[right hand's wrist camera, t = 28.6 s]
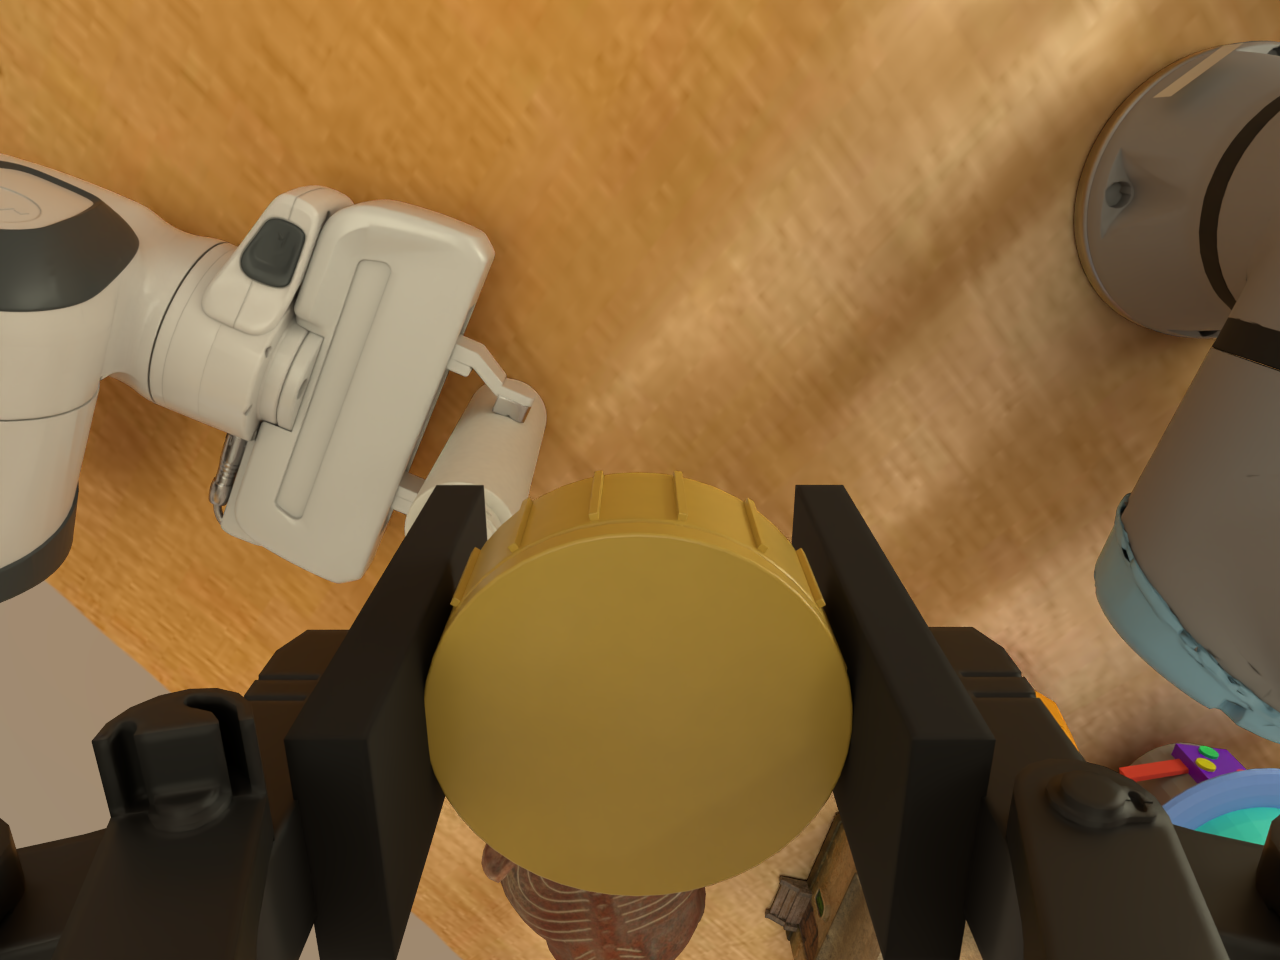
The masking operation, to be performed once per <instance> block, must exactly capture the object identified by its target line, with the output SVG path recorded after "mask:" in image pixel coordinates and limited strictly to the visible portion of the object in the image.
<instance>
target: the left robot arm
mask: <svg viewBox="0 0 1280 960" xmlns="http://www.w3.org/2000/svg"><path fill="white" fill-rule="evenodd" d="M494 257H495V251H494V249H493V246H492V244H491V243H490V241H489V239H488V237H487V235H486V234H485V233H484V232H483V231H482V230H480V229H478V228H476V227H474V226H471V225H469V224H467V223H464V222H462V221H459V220H457V219H455V218H452V217H449V216H446V215H444V214H441V213H438V212H435V211H432V210H429V209H426V208H422V207H419V206H416V205H412V204H408V203H404V202H400V201H396V200H388V199H379V200H373V201H367V202H361V203H358V204H354V203H353V202H352V200H351V199H350V198H349V197H347V196H346V195H344V194H343V193H341V192H339V191H337V190H335V189H332V188H329V187H325V186H318V185H311V186H304V187H299V188H295V189H292V190H290V191H287V192H285V193H283V194H281V195H279V196H277V197H276V198H275V199H274V200H273V201H272V202H271V203H270V204H269V206H268V207H267V208H266V210H265V211H264V212H263V214H262V215H261V216H260V218H259V219H258V221H257V222H256V223H255V225H254V226H253V227H252V229H251V230H250V232H249V233H248V234H247V236H246V237H245V238H244V240H243V241H242V242H241V244H240V245H239V246H238V247H237V246H235V245H233V244H231V243H229V242H226V241H223V240H220V239H216V238H211V237H203V236H197V235H193V234H190V233H187V232H184V231H182V230H179V229H177V228H175V227H174V226H172V225H170V224H168V223H167V222H166V221H164V220H163V219H162V218H161V217H159V216H158V215H157V214H156V213H154V212H153V211H152V210H150V209H149V208H147V207H146V206H144V205H142V204H140V203H138V202H136V201H133V200H131V199H129V198H126V197H124V196H122V195H119V194H117V193H115V192H112V191H110V190H107V189H105V188H102V187H100V186H98V185H95V184H93V183H90V182H87V181H85V180H82V179H79V178H77V177H74V176H71V175H69V174H66V173H63V172H60V171H57V170H54V169H52V168H49V167H45V166H42V165H39V164H36V163H33V162H29V161H26V160H23V159H20V158H16V157H13V156H9V155H6V154H2V153H0V603H1V602H3V601H6V600H8V599H11V598H13V597H15V596H17V595H19V594H21V593H23V592H25V591H27V590H29V589H31V588H33V587H34V586H36V585H38V584H39V583H41V582H42V581H44V580H45V579H47V578H48V577H49V576H50V575H51V574H53V573H54V572H55V571H56V570H57V569H58V568H59V567H60V565H61V564H62V563H63V562H64V560H65V559H66V557H67V555H68V554H69V551H70V549H71V546H72V542H73V533H74V525H75V517H76V508H77V500H78V492H79V488H78V479H79V475H80V471H81V466H82V462H83V458H84V453H85V449H86V445H87V440H88V436H89V432H90V427H91V423H92V419H93V414H94V410H95V405H96V401H97V397H98V392H99V387H100V380H102V379H104V378H105V377H107V376H110V377H112V378H115V379H117V380H119V381H121V382H123V383H125V384H127V385H128V386H130V387H131V388H133V389H134V390H135V391H136V392H138V393H139V394H140V395H142V396H143V397H144V398H146V399H147V400H149V401H151V402H153V403H155V404H157V405H160V406H162V407H165V408H167V409H170V410H172V411H175V412H177V413H179V414H182V415H184V416H187V417H189V418H192V419H194V420H197V421H199V422H202V423H204V424H207V425H209V426H212V427H214V428H217V429H219V430H222V431H224V432H226V433H227V435H226V439H225V442H224V446H223V449H222V452H221V456H220V463H219V468H218V471H217V474H216V477H214V479H213V481H212V483H211V486H210V490H209V501H210V502H211V503H212V504H213V507H214V513H215V516H216V519H217V520H218V522H219V523H220V525H221V528H222V529H223V530H224V531H225V532H227V533H228V534H230V535H232V536H234V537H237V538H239V539H242V540H244V541H247V542H249V543H252V544H255V545H259V546H263V547H264V548H266V549H268V550H269V551H271V552H273V553H275V554H276V555H278V556H280V557H282V558H283V559H285V560H287V561H289V562H291V563H293V564H295V565H297V566H299V567H301V568H303V569H305V570H307V571H309V572H311V573H313V574H315V575H317V576H320V577H322V578H324V579H326V580H329V581H331V582H335V583H346V582H351V581H355V580H359V579H360V578H362V577H363V575H364V574H365V572H366V571H367V569H368V568H369V566H370V564H371V562H372V560H373V558H374V557H375V554H376V552H377V550H378V547H379V545H380V542H381V540H382V537H383V535H384V532H385V530H386V527H387V525H388V522H389V520H390V517H391V515H392V512H393V510H396V511H399V512H401V513H404V514H406V515H407V513H408V511H409V509H410V507H411V505H412V503H413V501H414V500H415V498H416V496H417V494H418V493H419V491H420V489H421V487H422V486H423V484H424V482H425V479H423V478H420V477H418V476H416V475H413V474H411V473H409V470H410V467H411V465H412V462H413V460H414V457H415V455H416V452H417V450H418V447H419V445H420V442H421V440H422V437H423V435H424V432H425V430H426V427H427V425H428V422H429V420H430V417H431V415H432V412H433V410H434V407H435V405H436V402H437V400H438V397H439V395H440V392H441V390H442V387H443V385H444V382H445V380H446V377H447V375H448V372H449V370H450V371H453V372H455V373H457V374H460V375H462V376H465V377H466V376H468V375H469V374H470V372H471V371H472V369H474V370H475V371H476V372H477V374H478V375H479V376H480V377H481V379H482V380H483V381H484V382H485V383H486V385H487V386H488V387H489V388H490V389H491V391H492V392H493V393H494V394H495V396H496V397H497V396H498V397H497V399H496V402H495V404H494V407H493V409H492V411H493V412H495V413H497V414H500V415H503V416H508V415H509V416H510V418H511V419H512V420H514V421H516V422H519V423H524V422H525V420H526V417H527V415H528V413H529V411H530V409H531V407H532V404H533V402H534V400H535V397H536V394H537V393H536V392H535V391H534V390H533V389H531V388H529V387H527V386H524V385H522V384H520V383H518V382H515V381H513V380H511V379H509V378H506V376H507V375H506V373H505V372H504V371H503V369H502V368H501V367H500V365H499V364H498V363H497V361H496V360H495V359H494V357H493V356H492V355H491V353H490V352H489V351H488V349H487V348H486V347H485V345H483V344H481V343H479V342H477V341H474V340H472V339H470V338H468V337H465V336H463V335H464V332H465V330H466V327H467V325H468V322H469V320H470V317H471V315H472V312H473V310H474V307H475V305H476V302H477V300H478V297H479V295H480V292H481V290H482V287H483V285H484V282H485V280H486V277H487V275H488V272H489V270H490V267H491V265H492V262H493V260H494ZM226 504H227V505H226ZM224 505H226V509H225V512H224V514H223V511H222V506H224Z"/></svg>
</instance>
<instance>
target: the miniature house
mask: <svg viewBox="0 0 1280 960" xmlns="http://www.w3.org/2000/svg"><path fill="white" fill-rule="evenodd" d="M779 881H780V883H779V884H781V886H780V888H779V890H778V893H777V895H776V898H775V900H774V902H773V905H772V907H771V909H770V910H766V911H765V918H769V919H771V920H773V921H774V922H776V923H778V924H779V925H781V926H783V927H784V930H786V935H787V939H788V940H789V941H790V944H791V948H792V953H793V958H794V960H883V957H882V954H881V951H880V947H879V944H878V941H877V937H876V934H875V931H874V927H873V924H872V921H871V917H870V914H869V910H868V907H867V904H866V900H865V897H864V894H863V890H862V887H861V884H860V880H859V877H858V874H857V870H856V867H855V864H854V860H853V857H852V854H851V850H850V847H849V844H848V840H847V837H846V834H845V830H844V827H843V824H842V820H841V817H840V814H839V813H838V814H836V816H835V818H834V821H833V823H832V825H831V828H830V830H829V832H828V834H827V837H826V839H825V841H824V843H823V846H822V848H821V850H820V853H819V855H818V857H817V859H816V862H815V864H814V866H813V869H812V871H811V873H810V875H809V878H808V880H807V881H802V880H797V879H792V878H787V877H782V876H780V878H779ZM959 960H983V959H982V957H981V954H980V952H979V949H978V947H977V945H976V942H975V940H974V938H973V935H972V933H971V931H970V928H969V926H968V923H967V921H966V923H965V929H964V935H963V941H962V947H961V953H960V959H959Z"/></svg>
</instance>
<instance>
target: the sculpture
mask: <svg viewBox="0 0 1280 960" xmlns="http://www.w3.org/2000/svg"><path fill="white" fill-rule="evenodd" d="M482 867H483V870H484V872H485V874H486V875H487V877H488V878H489V879H491V880H493V881H495V882H498V883H499V882H500V881H501V884H502V886H503V889H504V892H505V895H506V896H507V898H508V900H509V901H510V903H511V905H512V906H513V907H514V909H515V910H516V911H517V913H518V914H519V915H520V917H521V918H522V919H523V921H524V922H525V923H526V924H527V925H528V926H529V927H530V928H532V929H533V930H534V931H535V932H536V933H537V934H538V935H540V936H541V937H543V938H544V939H545V940H546V941H547V945H548V948H549V950H550V952H551V953H552V955H553V956H554V958H555V959H556V960H674V959H675V958H676V957H677V956H678V955H679V954H680V953H681V952H682V951H683V949H684V948H685V947H686V945H687V944H688V942H689V940H690V939H691V937H692V935H693V933H694V931H695V929H696V927H697V925H698V923H699V922H700V920H701V918H702V915H703V913H704V909H705V896H706V893H705V887H702V888H698V889H695V890H691V891H686V892H679V893H672V894H666V895H651V896H624V895H609V894H603V893H597V892H590V891H585V890H581V889H577V888H573V887H570V886H566V885H562V884H559V883H557V882H554V881H551V880H549V879H546V878H543V877H541V876H538V875H536V874H534V873H532V872H530V871H528V870H526V869H524V868H522V867H520V866H518V865H517V864H515V863H513V862H512V861H510V860H509V859H507V858H506V857H504V856H503V855H501V854H500V853H498V852H497V851H495V850H494V849H493V848H491V847H490V846H489V845H488V844H487V843H486V845H485V848H484V851H483V856H482Z"/></svg>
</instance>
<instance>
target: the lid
mask: <svg viewBox="0 0 1280 960" xmlns="http://www.w3.org/2000/svg"><path fill="white" fill-rule="evenodd" d="M450 604H451V605H452V606H453V608H452V611H451V613H450V616H449V618H448V621H447V623H446V626H445V628H444V631H443V633H442V635H441V638H440V641H439V643H438V645H437V648H436V650H435V653H434V655H433V658H432V661H431V665H430V668H429V671H428V674H427V678H426V682H425V689H424V702H425V714H426V724H427V735H428V745H429V754H430V762H431V765H432V768H433V771H434V774H435V776H436V778H437V780H438V782H439V784H440V786H441V788H442V790H443V792H444V794H445V796H446V798H447V799H448V800H449V802H450V803H451V805H452V806H453V808H454V809H455V811H456V812H457V813H458V815H459V816H460V817H461V818H462V820H463V821H464V822H465V823H466V824H467V825H468V826H469V827H470V828H471V829H472V831H473V832H474V833H475V834H476V835H477V836H479V837H480V838H481V839H482V840H483V841H484V842H486V843H487V844H488V845H489V846H490V847H491V848H493V849H494V850H495V851H497V852H498V853H500V854H501V855H503V856H504V857H506V858H507V859H509V860H510V861H512V862H513V863H515V864H517V865H518V866H520V867H522V868H524V869H526V870H528V871H530V872H532V873H534V874H536V875H538V876H541V877H543V878H546V879H549V880H551V881H554V882H557V883H559V884H562V885H566V886H570V887H573V888H577V889H581V890H585V891H590V892H597V893H603V894H609V895H624V896H651V895H666V894H672V893H679V892H686V891H691V890H695V889H698V888H702V887H706V886H710V885H714V884H716V883H719V882H722V881H724V880H727V879H730V878H732V877H735V876H737V875H739V874H741V873H743V872H745V871H747V870H749V869H751V868H753V867H755V866H757V865H759V864H761V863H762V862H764V861H765V860H767V859H768V858H770V857H771V856H773V855H774V854H776V853H777V852H779V851H780V850H782V849H783V848H784V847H785V846H786V845H788V844H789V843H790V842H791V841H792V840H793V839H795V838H796V837H797V836H798V835H799V834H800V833H801V832H802V831H803V830H804V829H805V828H806V827H807V826H808V824H809V823H810V822H811V821H812V820H813V819H814V818H815V817H816V815H817V814H818V813H819V811H820V810H821V808H822V807H823V805H824V804H825V803H826V801H827V800H828V798H829V797H830V795H831V793H832V791H833V789H834V787H835V785H836V783H837V781H838V779H839V777H840V775H841V772H842V769H843V766H844V763H845V760H846V757H847V754H848V750H849V745H850V739H851V733H852V719H853V702H852V695H851V687H850V681H849V677H848V674H847V666H846V664H845V661H844V659H843V656H842V654H841V651H840V649H839V646H838V644H837V641H836V639H835V636H834V634H833V631H832V629H831V626H830V624H829V621H828V619H827V616H826V613H825V611H824V609H823V606H825V605H826V604H825V602H824V599H823V597H822V594H821V592H820V589H819V587H818V584H817V582H816V579H815V577H814V575H813V572H812V570H811V567H810V565H809V562H808V560H807V557H806V555H805V553H804V551H803V550H802V548H800V549H798V550H795V549H794V547H793V546H792V544H791V543H790V542H789V541H788V540H787V539H786V537H785V536H784V535H783V534H782V533H781V532H780V531H779V530H778V528H777V527H776V526H775V525H774V524H772V523H771V522H770V521H769V520H768V519H767V518H765V517H764V516H763V515H762V514H761V513H759V512H758V511H757V509H756V506H755V503H754V501H752V500H751V499H749V498H747V499H746V500H745V502H743V501H742V500H740V499H738V498H737V497H735V496H733V495H731V494H729V493H726V492H724V491H722V490H720V489H718V488H716V487H714V486H711V485H708V484H704V483H701V482H698V481H695V480H692V479H689V478H683V473H682V472H680V471H674V474H673V475H668V474H659V473H643V472H633V473H616V474H608V475H604V474H603V471H602V470H601V471H595V472H594V477H592V478H587V479H584V480H581V481H577V482H574V483H571V484H568V485H565V486H562V487H560V488H558V489H556V490H554V491H551V492H549V493H547V494H545V495H543V496H541V497H539V498H537V499H536V500H534V501H533V502H532V500H531V499H530V498H527V499H525V500H524V501H523V502H522V505H521V508H520V510H519V511H518V512H516V513H515V514H514V515H513V516H512V517H510V518H509V519H508V520H507V521H506V522H504V523H503V524H502V525H501V526H500V527H499V528H498V529H497V531H496V532H495V533H494V534H493V535H492V536H491V537H490V538H489V539H488V541H487V542H486V543H485V544H484V546H483V547H482V549H481V550H480V549H478V548H476V547H475V548H474V549H473V551H472V552H471V555H470V557H469V560H468V562H467V564H466V567H465V569H464V572H463V574H462V576H461V579H460V581H459V584H458V586H457V588H456V591H455V593H454V596H453V598H452V600H451V603H450Z"/></svg>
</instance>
